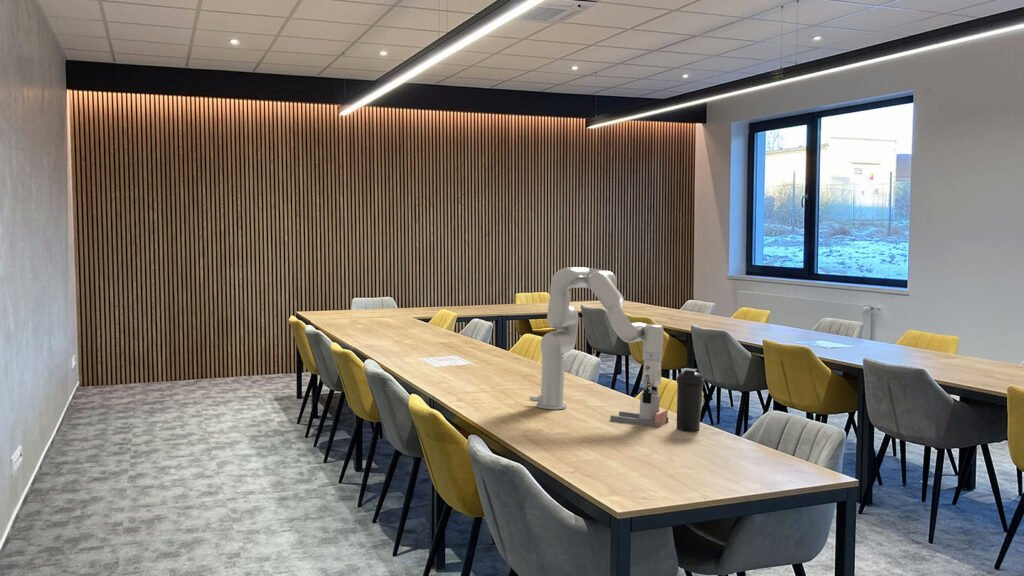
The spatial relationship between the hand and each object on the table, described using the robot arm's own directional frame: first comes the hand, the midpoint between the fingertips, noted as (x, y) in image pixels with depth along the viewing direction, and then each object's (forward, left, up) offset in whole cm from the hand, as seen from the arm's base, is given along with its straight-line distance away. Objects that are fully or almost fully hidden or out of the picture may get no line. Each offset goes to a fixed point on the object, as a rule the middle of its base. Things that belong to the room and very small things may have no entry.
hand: (649, 401), depth 333 cm
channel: (-3, +2, -8) cm, 9 cm away
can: (0, 0, -8) cm, 8 cm away
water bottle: (+14, -9, -9) cm, 19 cm away
